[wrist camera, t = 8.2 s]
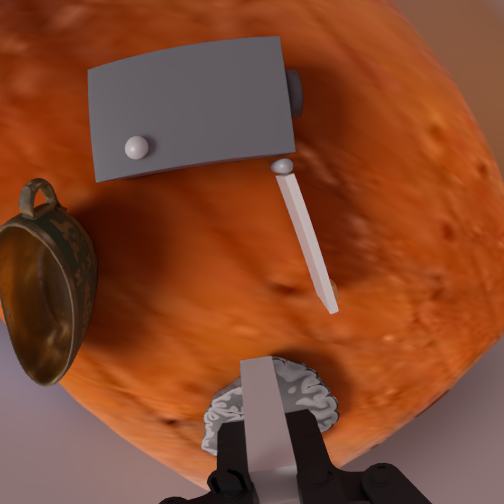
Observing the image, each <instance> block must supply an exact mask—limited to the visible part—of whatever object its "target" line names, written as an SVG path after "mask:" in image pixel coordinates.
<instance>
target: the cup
mask: <svg viewBox="0 0 504 504" xmlns="http://www.w3.org/2000/svg"><path fill="white" fill-rule="evenodd" d="M39 188H40V189H41V190H42V192H43V193H44V195H45V196H46V201H45V203H44V204H41V205H39V206H37V207H35V208H34V199H35V195H36V193H37V191H38V190H39ZM19 210H20V212H21V214H19V215H17V216H15V217H13V218H12V219H10V220H9V221H7V222H6V223H5V224H3V225H2V226H1V227H0V302H1V306H2V309H3V314H4V318H5V322H6V326H7V329H8V332H9V336H10V340H11V343H12V346H13V349H14V352H15V354H16V356H17V359H18V361H19V363H20V365H21V366H22V368H23V370H24V371H25V373H26V374H27V375H28V376H29V377H30V378H31V379H32V380H33V381H34V382H35V383H36V384H38V385H41V386H45V387H48V386H52V385H54V384H56V383H57V382H58V381H59V380H60V379H61V378H62V377H63V376H64V375H65V373H66V372H67V371H68V369H69V368H70V366H71V365H72V363H73V361H74V359H75V357H76V355H77V353H78V351H79V348H80V346H81V344H82V342H83V339H84V336H85V333H86V331H87V328H88V325H89V321H90V318H91V314H92V310H93V305H94V299H95V294H96V288H97V279H98V258H97V257H96V252H95V249H94V245H93V242H92V240H91V239H90V237H89V235H88V234H87V232H86V231H85V230H84V228H83V227H82V225H81V224H80V223H79V222H78V221H77V219H75V218H74V217H72V216H71V215H70V214H68V213H66V210H67V208H65V207H63V206H62V205H61V204H60V203H59V201H58V199H57V197H56V194H55V192H54V189H53V187H52V185H51V184H50V183H49V182H48V181H46V180H44V179H41V178H36V179H33V180H31V181H29V182H28V183H27V184H26V185H25V186H24V187H23V189H22V191H21V194H20V198H19Z"/></svg>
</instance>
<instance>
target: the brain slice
mask: <svg viewBox="0 0 504 504" xmlns="http://www.w3.org/2000/svg"><path fill="white" fill-rule="evenodd" d="M271 357H272V361H273V366H274V370H275V374H276V379H277V383H278V388H279V392H280V396H281V401H282V405H283V409H284V413H288V412H294V411H298V410H303V409H308V410H309V411H310V412H311V413H313V414H314V415H315V417H316V420H317V423H318V427H319V429H320V432H324V431H326V430H329V429H330V428H332V426H333V425H334V423H336V422H337V421H338V420H339V413H338V411H336V409H337V408H338V402H337V400H336V398H335V397H333V396H331V395H330V390H329V388H328V387H327V386H326V385H325V384H324V383H323V381H322V380H321V379H320V378H319V377H318V373H317V372H316V371H315V370H313V369H311V368H309V367H307V366H306V365H305V364H303V363H299V362H295V361H288V360H286V359H285V358H283V357H279V356H271ZM236 421H244V410H243V397H242V383H241V376H239V377H238V378H237V379H236V380H235V381H233V382H231V383H230V384H229V385H228V386H226V387H225V388H223V389H221V390H219V391H218V392H217V393H216V394H215V395H214V397H213V400H212V401H211V403H210V405H209V406H208V408H207V410H206V412H205V414H204V422H205V429H206V430H205V431H206V432H205V433H204V436H203V439H202V445H201V446H202V449H203V450H204V451H206V452H208V453H210V454H212V455H214V456H216V457H217V432H218V430H219V428H220V427H221V425H222V423H228V422H236Z"/></svg>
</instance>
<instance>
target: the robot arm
mask: <svg viewBox="0 0 504 504" xmlns="http://www.w3.org/2000/svg"><path fill="white" fill-rule="evenodd" d="M240 369H241V383H242V397H243V410H244V421H236V422H228V423H222V425H221V427H220V428H219V430H218V432H217V470H215V471H213V472H212V473H211V475H210V476H209V477H208V480H207V484H208V486H209V488H210V490H211V491H210V492H208V493H207V494H205V495H203V496H200V497H197V498H194V499H190V500H186V499H184V498H182V497H169V498H166V499H164V500H163V501H161V502H160V503H159V504H279V503H285V502H291V501H296V500H300V503H301V504H432V503H431V502H430V501H429V500H428V499H427V498H426V497H425V496H424V495H423V494H422V493H421V492H420V491H419V490H418V489H417V488H416V487H415V486H414V485H413V484H412V483H411V482H410V481H409V480H408V479H407V478H406V477H405V476H404V475H403V474H402V473H401V471H399V469H398V468H396V467H395V466H393V465H392V464H388V463H378V464H375V465H372V466H370V467H369V468H368V469H367V470H365V471H363V472H347V471H343V470H340V469H338V468H336V467H335V466H334V465H333V464H332V463H331V461H330V458H329V455H328V452H327V449H326V446H325V444H324V441H323V438H322V435H321V432H320V429H319V427H318V423H317V420H316V417H315V415H314V414H313V413H311V412H310V411H309V410H308V409H303V410H298V411H294V412H288V413H284V409H283V405H282V401H281V396H280V392H279V388H278V383H277V379H276V374H275V370H274V366H273V361H272V357H271V356H266V357H260V358H254V359H248V360H241V361H240Z"/></svg>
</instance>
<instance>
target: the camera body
mask: <svg viewBox="0 0 504 504" xmlns="http://www.w3.org/2000/svg"><path fill="white" fill-rule="evenodd" d="M88 97H89V117H90V131H91V142H92V152H93V162H94V170H95V178H96V183H97V182H106V181H115V180H124V179H129V178H134V177H139V176H145V175H150V174H155V173H161V172H167V171H173V170H179V169H185V168H191V167H198V166H204V165H211V164H219V163H226V162H234V161H242V160H251V159H260V158H270V157H280V156H284V155H288V154H291V153H294V152H296V151H295V142H294V134H293V126H292V118H291V117H300V116H301V114H302V109H303V90H302V83H301V79H300V76H299V73H298V72H297V70H285V69H284V62H283V56H282V50H281V44H280V38H279V36H274V37H254V38H241V39H230V40H221V41H213V42H205V43H198V44H192V45H186V46H180V47H174V48H169V49H164V50H159V51H155V52H150V53H146V54H142V55H138V56H134V57H130V58H126V59H122V60H119V61H115V62H112V63H108V64H105V65H102V66H98V67H95V68H92V69H89V70H88Z"/></svg>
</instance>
